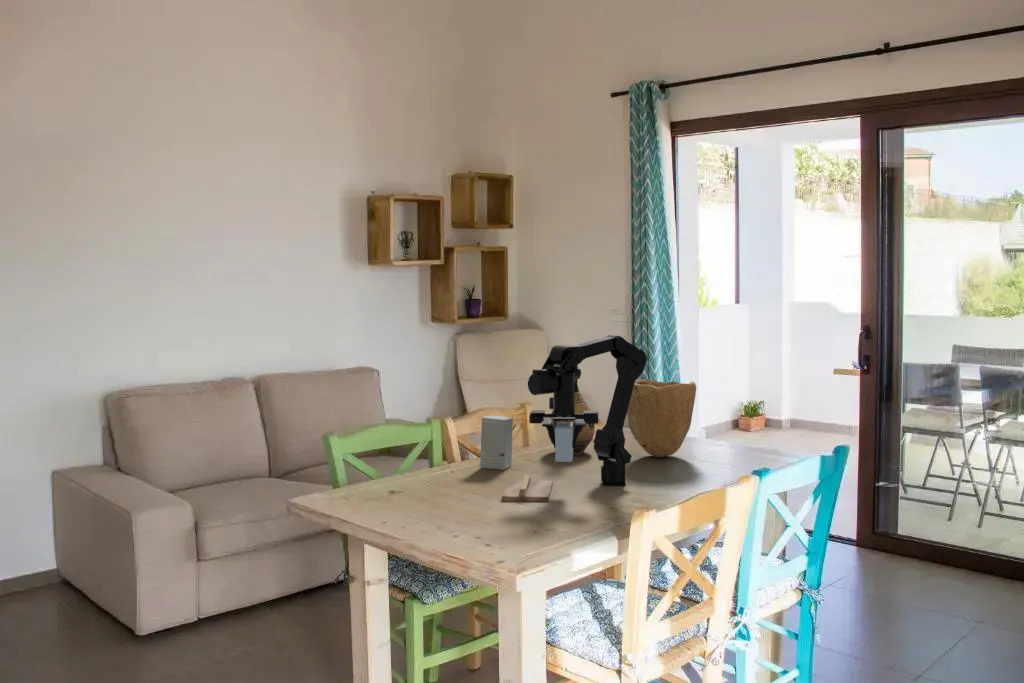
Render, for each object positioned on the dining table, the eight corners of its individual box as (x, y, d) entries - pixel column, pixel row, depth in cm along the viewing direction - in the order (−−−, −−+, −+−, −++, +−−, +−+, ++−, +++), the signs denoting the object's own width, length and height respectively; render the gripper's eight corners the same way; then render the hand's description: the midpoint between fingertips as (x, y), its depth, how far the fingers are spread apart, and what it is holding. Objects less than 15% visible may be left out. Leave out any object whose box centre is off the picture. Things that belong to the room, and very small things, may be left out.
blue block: (573, 454, 273) (572, 422, 273) (572, 461, 264) (571, 428, 263) (557, 453, 274) (556, 422, 273) (555, 461, 264) (555, 428, 263)
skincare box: (480, 468, 301) (479, 417, 300) (489, 463, 308) (488, 414, 306) (505, 470, 298) (504, 419, 296) (514, 465, 304) (513, 415, 303)
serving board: (552, 484, 279) (552, 474, 279) (548, 501, 261) (548, 490, 261) (509, 484, 280) (508, 474, 280) (502, 500, 263) (501, 489, 262)
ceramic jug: (596, 457, 315) (596, 364, 312) (548, 457, 315) (547, 365, 312) (593, 446, 332) (592, 358, 329) (547, 447, 332) (546, 359, 329)
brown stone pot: (707, 454, 317) (707, 377, 314) (680, 467, 298) (680, 386, 296) (643, 447, 329) (643, 373, 326) (613, 460, 310) (613, 381, 308)
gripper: (598, 387, 274) (598, 442, 276) (531, 387, 276) (532, 442, 277) (598, 393, 263) (598, 450, 265) (528, 393, 265) (529, 450, 266)
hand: (564, 448), depth 268 cm, fingers closed on blue block, 4 cm apart
